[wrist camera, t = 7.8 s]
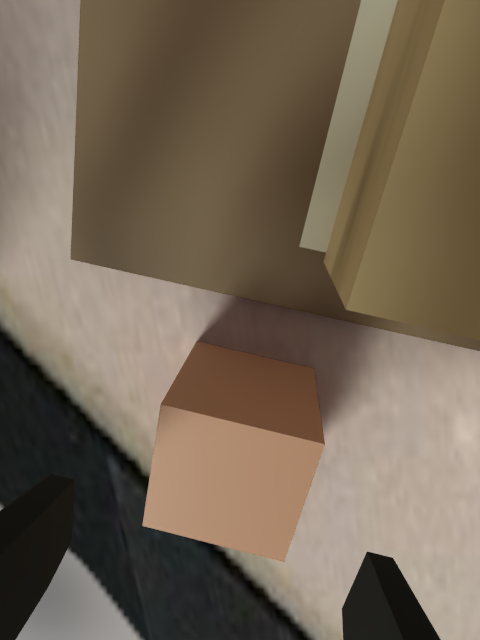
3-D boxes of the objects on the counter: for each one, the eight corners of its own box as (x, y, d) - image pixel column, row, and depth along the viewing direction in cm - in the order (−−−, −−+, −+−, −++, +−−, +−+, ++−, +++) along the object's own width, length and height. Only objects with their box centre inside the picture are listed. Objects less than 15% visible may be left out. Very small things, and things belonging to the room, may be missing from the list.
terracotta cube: (313, 367, 14) (324, 444, 10) (284, 461, 16) (284, 562, 12) (197, 340, 14) (160, 404, 10) (179, 436, 16) (142, 525, 12)
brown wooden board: (901, -14, 9) (938, -26, 9) (641, 383, 13) (655, 391, 12) (96, -156, 10) (86, -175, 9) (78, 256, 14) (70, 259, 13)
